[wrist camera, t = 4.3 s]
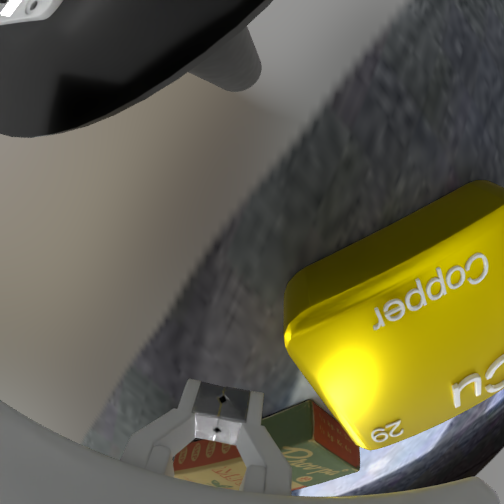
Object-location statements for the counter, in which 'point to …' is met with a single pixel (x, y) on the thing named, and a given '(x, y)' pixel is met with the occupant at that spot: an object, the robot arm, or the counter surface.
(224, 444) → the carton
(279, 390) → the counter surface
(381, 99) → the counter surface
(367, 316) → the element tile
